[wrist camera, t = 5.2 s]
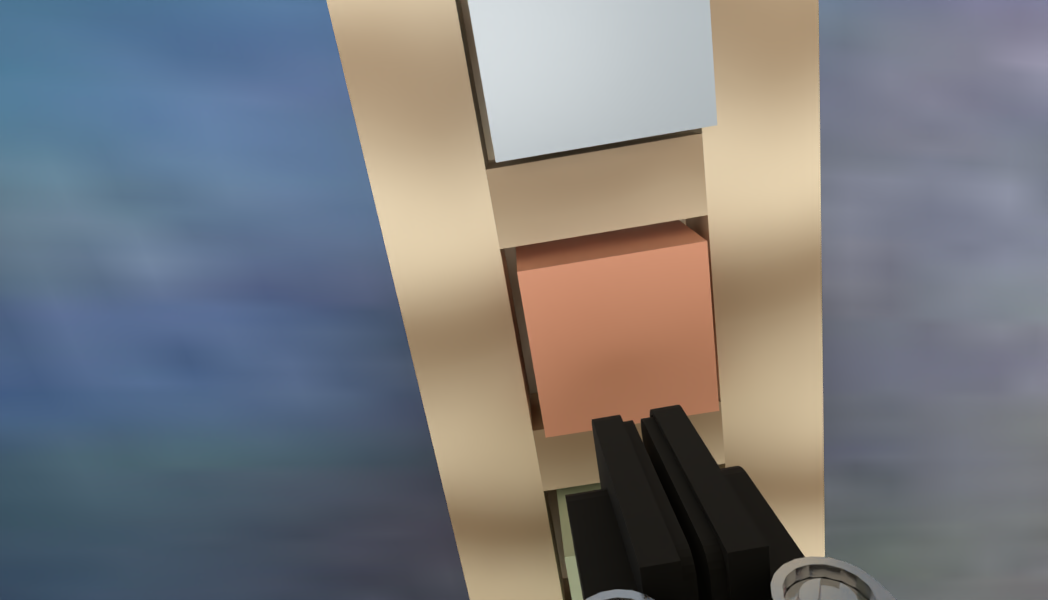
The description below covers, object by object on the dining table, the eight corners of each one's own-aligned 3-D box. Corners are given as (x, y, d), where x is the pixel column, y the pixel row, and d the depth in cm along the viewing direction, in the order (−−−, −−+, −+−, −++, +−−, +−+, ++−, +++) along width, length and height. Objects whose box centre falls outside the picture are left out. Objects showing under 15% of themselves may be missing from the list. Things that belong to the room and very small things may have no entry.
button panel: (783, 549, 25) (825, 618, 22) (489, 592, 25) (486, 668, 22) (757, -143, 18) (816, -198, 14) (340, -68, 18) (301, -105, 15)
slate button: (677, 119, 17) (717, 125, 14) (498, 149, 17) (495, 162, 14) (660, -86, 16) (701, -135, 12) (463, -51, 16) (451, -90, 12)
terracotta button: (686, 360, 21) (719, 410, 18) (539, 383, 21) (545, 437, 18) (673, 215, 19) (707, 240, 16) (515, 241, 20) (517, 272, 16)
